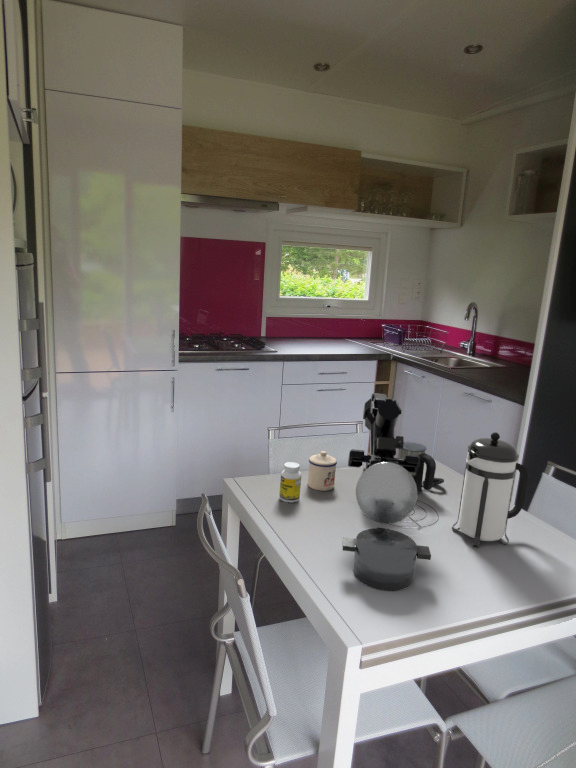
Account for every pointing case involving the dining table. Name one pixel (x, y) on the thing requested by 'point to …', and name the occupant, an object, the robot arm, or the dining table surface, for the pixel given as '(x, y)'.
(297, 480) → the pill bottle
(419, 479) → the milk frother
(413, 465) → the robot arm
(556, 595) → the dining table surface
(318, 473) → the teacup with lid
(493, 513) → the coffee press
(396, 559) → the steel pot
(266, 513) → the dining table surface
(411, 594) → the dining table surface
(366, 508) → the pot lid
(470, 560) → the dining table surface
